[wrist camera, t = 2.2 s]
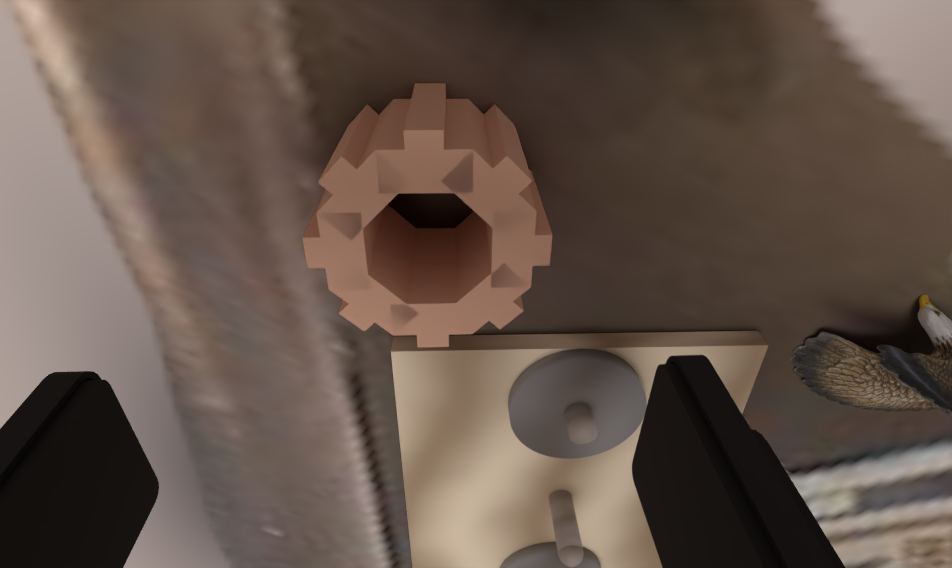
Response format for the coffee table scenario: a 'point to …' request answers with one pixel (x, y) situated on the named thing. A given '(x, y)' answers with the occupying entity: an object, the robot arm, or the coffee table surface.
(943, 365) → the eagle figurine
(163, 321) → the coffee table surface
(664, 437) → the robot arm
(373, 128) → the gear wheel
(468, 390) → the board
